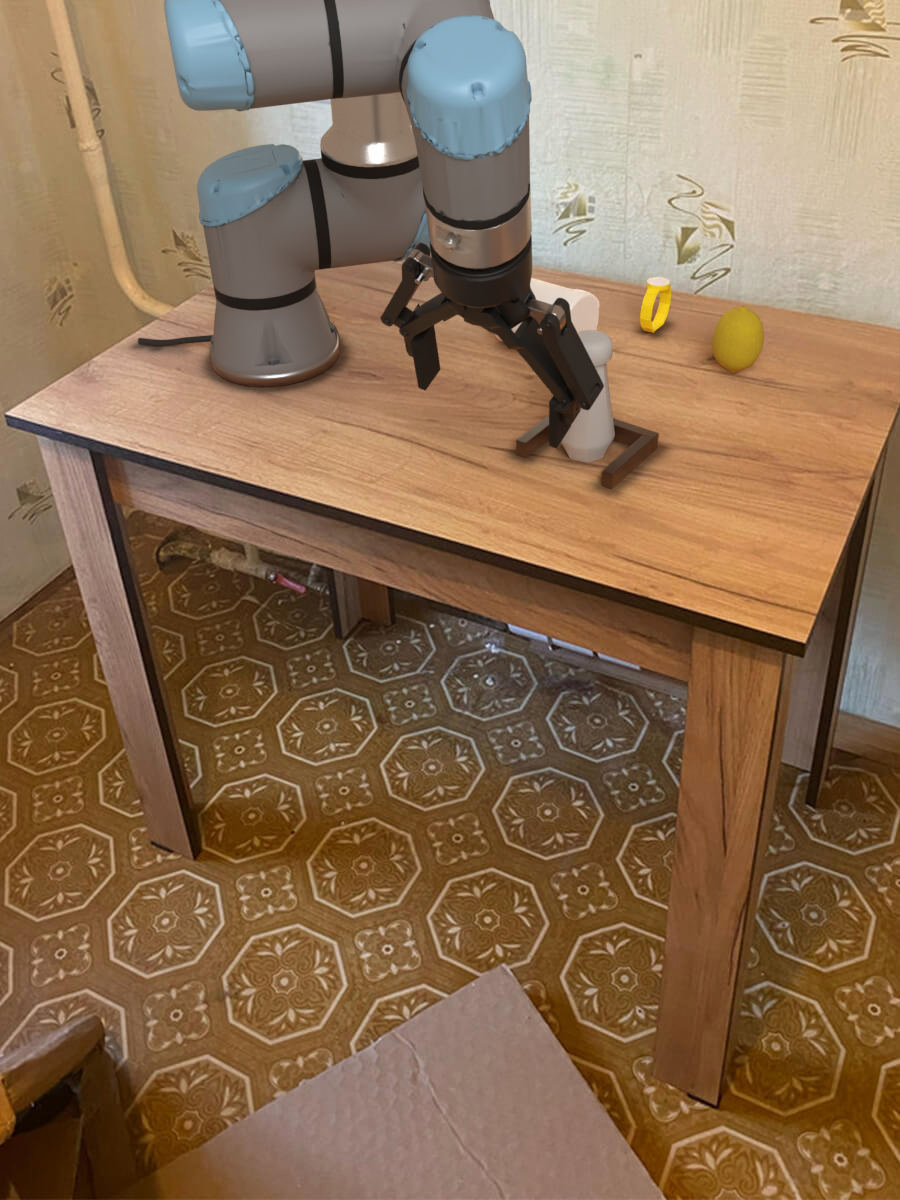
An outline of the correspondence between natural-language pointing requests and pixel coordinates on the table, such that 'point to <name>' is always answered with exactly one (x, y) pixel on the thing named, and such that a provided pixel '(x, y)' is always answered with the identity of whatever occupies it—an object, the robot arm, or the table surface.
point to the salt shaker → (593, 406)
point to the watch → (649, 299)
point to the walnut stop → (625, 432)
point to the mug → (580, 302)
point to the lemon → (738, 339)
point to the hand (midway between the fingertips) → (493, 406)
